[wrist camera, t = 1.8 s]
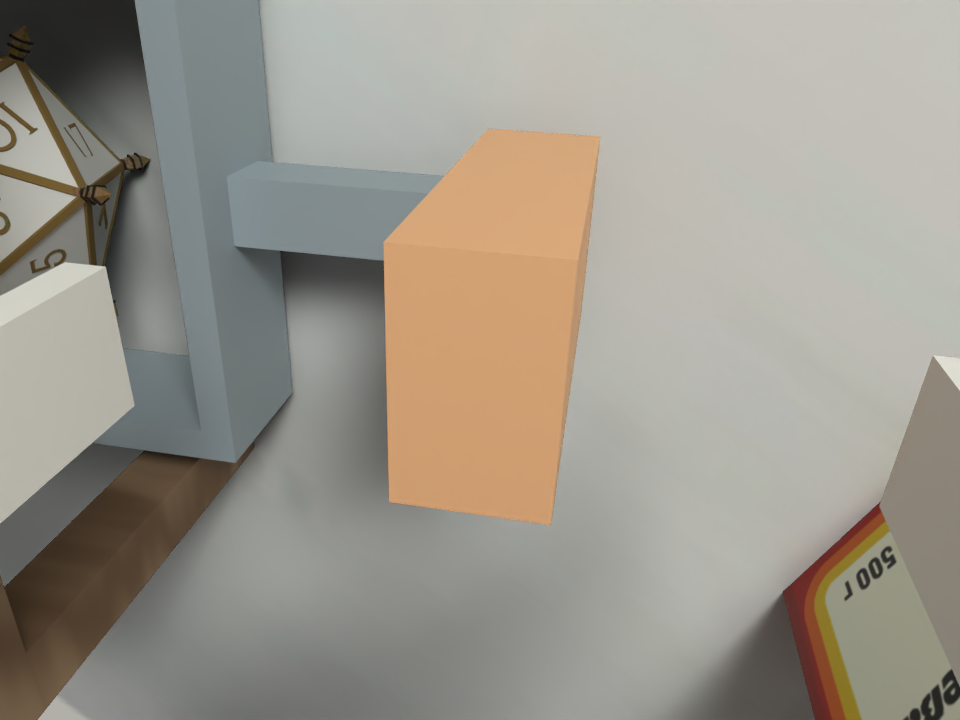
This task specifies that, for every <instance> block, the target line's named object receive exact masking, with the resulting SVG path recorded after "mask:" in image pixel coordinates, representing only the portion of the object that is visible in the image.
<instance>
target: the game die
mask: <svg viewBox="0 0 960 720" xmlns="http://www.w3.org/2000/svg"><path fill="white" fill-rule="evenodd" d="M9 36H10V37H11V40H10V43H8V44H7V45H8V46H9V47H10V54H9V55H8V56H0V296H1V295H3V294H5V293H7V292H9V291H11V290H13V289H15V288H16V287H18V286H20V285H22V284H24V283H26V282H28V281H30V280H32V279H34V278H36V277H38V276H40V275H41V274H43V273H45V272H47V271H49V270H51V269H53V268H55V267H57V266H59V265H61V264H63V263H64V262H67V263H76V264H85V265H94V266H104V265H105V260H106V256H107V251H108V246H109V241H110V237H111V232H112V227H113V223H114V218H115V213H116V208H117V204H118V199H119V194H120V189H121V185H122V180H123V175H124V171H125V170H131V171H132V172H133V171H135V170H137V169H138V170H139V171H140V170H142V169H143V166H144V165H145V164H146V163H147V162H149V161H150V160H151V159H148V158H145V157H143V156H140V155H138V154H137V153H134V155H131V156H130V155H127V157H126V158H124V159H119V158H118V157H117V156H116V155H115V154H114V153H113V152H112V151H111V150H110V149H109V148H108V147H107V146H106V145H105V144H104V143H103V142H102V141H101V140H100V139H99V138H98V137H97V136H96V135H95V134H94V132H93V131H92V130H91V129H90V128H89V127H88V126H87V125H86V124H85V123H84V122H83V121H82V120H81V119H80V118H79V117H78V116H77V115H76V114H75V113H74V112H73V111H72V110H71V109H70V108H69V107H68V106H67V105H66V104H65V103H64V102H63V101H62V100H61V99H60V98H59V97H58V96H57V95H56V94H55V93H54V92H53V91H52V90H51V89H50V87H49V86H48V85H47V84H46V83H45V82H44V81H43V80H42V79H41V78H40V77H39V76H38V75H37V74H36V73H35V72H34V71H33V70H32V69H31V68H30V67H29V66H28V65H27V64H26V63H25V62H24V57H25V56H26V55H27V53H30V52H31V51H29V48H30V46H31V45H33V43H32V42H31V40H30V37H29V34H28V31H27V28H26V26H25V25H24V26H23V27H21V28H20V29H19V30H17V31H16V32H15V33H13V34H9ZM115 302H116V301H115V300H114V301H113V304H114V309H115V314H116V315H117V316H119V315H118V312H117V309H116V305H115Z"/></svg>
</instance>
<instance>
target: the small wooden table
mask: <svg viewBox="0 0 960 720" xmlns="http://www.w3.org/2000/svg"><path fill="white" fill-rule="evenodd" d="M253 449H254V441H253V442H252V443H251V444H250V446H249V447H248V448H247V449H246V451H245V452H244V453H243V454H242V456H241V457H240V458H239V459H238V460H237V462H236V463H232V462H225V461H218V460H211V459H204V458H196V457H189V456H182V455H175V454H168V453H160V452H153V451H146V450H145V451H144V452H143V453H142V454H141V455H139V456H138V457H137V458H136V459H135V460H134V461H133V462H132V463H131V464H130V465H129V466H128V467H127V468H126V469H125V470H124V471H123V472H122V473H121V474H120V475H119V476H118V477H117V478H116V479H115V480H114V481H113V482H112V483H111V484H110V485H109V486H108V487H107V488H106V489H105V490H104V491H103V492H102V493H101V494H100V495H99V496H97V497H96V498H95V499H94V500H93V501H92V502H91V503H90V504H89V505H88V506H87V507H86V508H85V509H84V510H83V511H82V512H81V513H80V514H79V515H78V516H77V517H76V518H75V519H74V520H73V521H72V522H71V523H70V524H69V525H68V526H67V527H66V528H65V529H64V530H63V531H62V532H61V533H60V534H59V535H58V536H57V537H55V538H54V539H53V540H52V541H51V542H50V543H49V544H48V545H47V546H46V547H45V548H44V549H43V550H42V551H41V552H40V553H39V554H38V555H37V556H36V557H35V558H34V559H33V560H32V561H31V562H30V563H29V564H28V565H27V566H26V567H25V568H24V569H23V570H22V571H21V572H20V573H19V574H18V575H17V576H16V577H15V578H13V579H12V580H11V581H10V582H9V583H8V584H7V585H6V586H5V587H4V585H3V582H2V579H1V576H0V720H38V718H39V717H40V716H41V715H42V713H43V712H44V711H45V710H46V708H47V707H48V706H49V705H50V703H51V702H52V701H53V700H54V698H55V697H56V696H57V695H58V693H59V692H60V691H61V690H62V688H63V687H64V686H65V685H66V683H67V682H68V681H69V680H70V678H71V677H72V676H73V675H74V673H75V672H76V671H77V669H78V668H79V667H80V666H81V664H82V663H83V662H84V661H85V659H86V658H87V657H88V656H89V654H90V653H91V652H92V651H93V649H94V648H95V647H96V646H97V644H98V643H99V642H100V641H101V639H102V638H103V637H104V636H105V634H106V633H107V632H108V631H109V629H110V628H111V627H112V626H113V624H114V623H115V622H116V621H117V619H118V618H119V617H120V616H121V614H122V613H123V612H124V611H125V609H126V608H127V607H128V605H129V604H130V603H131V602H132V600H133V599H134V598H135V597H136V595H137V594H138V593H139V592H140V590H141V589H142V588H143V587H144V585H145V584H146V583H147V582H148V580H149V579H150V578H151V577H152V575H153V574H154V573H155V572H156V570H157V569H158V568H159V567H160V565H161V564H162V563H163V562H164V560H165V559H166V558H167V557H168V555H169V554H170V553H171V552H172V550H173V549H174V548H175V547H176V545H177V544H178V543H179V542H180V540H181V539H182V538H183V536H184V535H185V534H186V533H187V531H188V530H189V529H190V528H191V526H192V525H193V524H194V523H195V521H196V520H197V519H198V518H199V516H200V515H201V514H202V513H203V511H204V510H205V509H206V508H207V506H208V505H209V504H210V503H211V501H212V500H213V499H214V498H215V496H216V495H217V494H218V493H219V491H220V490H221V489H222V488H223V486H224V485H225V484H226V483H227V481H228V480H229V479H230V478H231V476H232V475H233V474H234V472H235V471H236V470H237V469H238V467H239V466H240V465H241V464H242V462H243V461H244V460H245V459H246V457H247V456H248V455H249V454H250V452H251V451H252V450H253Z"/></svg>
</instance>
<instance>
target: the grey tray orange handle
mask: <svg viewBox="0 0 960 720" xmlns="http://www.w3.org/2000/svg"><path fill="white" fill-rule="evenodd" d="M135 6H136V13H137V19H138V26H139V32H140V39H141V45H142V52H143V58H144V65H145V71H146V78H147V84H148V91H149V97H150V104H151V110H152V117H153V123H154V130H155V136H156V143H157V149H158V156H159V162H160V169H161V175H162V181H163V188H164V194H165V201H166V207H167V214H168V220H169V227H170V233H171V240H172V246H173V253H174V259H175V266H176V272H177V279H178V285H179V292H180V298H181V305H182V311H183V318H184V324H185V331H186V337H187V344H188V350H189V356H184V355H175V354H167V353H159V352H150V351H142V350H133V349H125V348H123V352H124V357H125V362H126V366H127V371H128V376H129V381H130V386H131V390H132V395H133V400H134V405H135V406H134V407H133V408H131V409H130V410H129V411H128V412H127V413H126V414H125V415H123V416H122V417H121V418H120V419H119V420H118V421H117V422H115V423H114V424H113V425H112V426H111V427H110V428H109V429H108V430H106V431H105V432H104V433H103V434H102V435H101V436H100V437H98V438H97V439H96V440H95V441H94V442H93V443H96V444H103V445H110V446H117V447H124V448H132V449H139V450H146V451H153V452H160V453H168V454H175V455H182V456H189V457H196V458H204V459H211V460H218V461H225V462H232V463H236V462H237V460H238V459H239V458H240V457H241V456H242V454H243V453H244V452H245V451H246V449H247V448H248V447H249V446H250V444H251V443H252V442H253V441H254V440H255V438H256V437H257V436H258V435H259V433H260V432H261V431H262V430H263V428H264V427H265V426H266V425H267V423H268V422H269V421H270V420H271V419H272V417H273V416H274V415H275V414H276V412H277V411H278V410H279V409H280V407H281V406H282V405H283V404H284V403H285V401H286V400H287V399H288V398H289V396H290V395H291V394H292V382H291V370H290V359H289V347H288V336H287V324H286V313H285V301H284V290H283V278H282V267H281V255H280V251H289V252H299V253H310V254H320V255H330V256H340V257H351V258H361V259H371V260H382V261H384V290H385V337H386V384H387V431H388V477H389V502H392V503H399V504H406V505H413V506H420V507H428V508H435V509H442V510H449V511H456V512H463V513H470V514H477V515H484V516H491V517H498V518H505V519H512V520H519V521H526V522H533V523H540V524H547V525H551V521H552V514H553V507H554V500H555V493H556V486H557V479H558V472H559V465H560V458H561V451H562V444H563V437H564V430H565V423H566V416H567V409H568V402H569V395H570V388H571V381H572V374H573V366H574V359H575V352H576V345H577V338H578V331H579V324H580V317H581V310H582V301H583V292H584V282H585V273H586V264H587V254H588V245H589V236H590V226H591V217H592V208H593V199H594V189H595V180H596V171H597V161H598V152H599V143H600V137H598V136H584V135H570V134H556V133H542V132H527V131H513V130H499V129H488V130H487V131H486V132H485V133H484V134H483V135H482V136H481V138H480V139H479V140H478V141H477V142H476V143H475V144H474V145H473V146H472V147H471V148H470V149H469V150H468V152H467V153H466V154H465V155H464V156H463V157H462V158H461V159H460V160H459V161H458V162H457V163H456V164H455V166H454V167H453V168H452V169H451V170H450V171H449V172H448V173H447V174H446V175H445V176H437V175H425V174H412V173H400V172H387V171H375V170H363V169H350V168H338V167H325V166H313V165H300V164H288V163H275V162H272V151H271V140H270V128H269V117H268V105H267V94H266V82H265V71H264V59H263V47H262V36H261V24H260V13H259V1H258V0H135Z"/></svg>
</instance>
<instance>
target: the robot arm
mask: <svg viewBox="0 0 960 720" xmlns="http://www.w3.org/2000/svg"><path fill="white" fill-rule="evenodd" d="M134 406H135V405H134V400H133V395H132V390H131V386H130V381H129V376H128V371H127V366H126V362H125V357H124V352H123V347H122V342H121V338H120V333H119V328H118V323H117V319H116V314H115V309H114V304H113V299H112V295H111V290H110V285H109V280H108V275H107V271H106V267H104V266H94V265H85V264H76V263H67V262H64V263H63V264H61V265H59V266H57V267H55V268H53V269H51V270H49V271H47V272H45V273H43V274H41V275H40V276H38V277H36V278H34V279H32V280H30V281H28V282H26V283H24V284H22V285H20V286H18V287H16V288H15V289H13V290H11V291H9V292H7V293H5V294H3V295H1V296H0V523H2V522H3V521H4V520H5V519H6V518H7V517H8V516H10V515H11V514H12V513H13V512H14V511H15V510H16V509H18V508H19V507H20V506H21V505H22V504H23V503H24V502H25V501H27V500H28V499H29V498H30V497H31V496H32V495H33V494H35V493H36V492H37V491H38V490H39V489H40V488H41V487H43V486H44V485H45V484H46V483H47V482H48V481H49V480H51V479H52V478H53V477H54V476H55V475H56V474H57V473H59V472H60V471H61V470H62V469H63V468H64V467H65V466H67V465H68V464H69V463H70V462H71V461H72V460H73V459H74V458H76V457H77V456H78V455H79V454H80V453H81V452H82V451H84V450H85V449H86V448H87V447H88V446H89V445H90V444H92V443H93V442H94V441H95V440H96V439H97V438H98V437H100V436H101V435H102V434H103V433H104V432H105V431H106V430H108V429H109V428H110V427H111V426H112V425H113V424H114V423H115V422H117V421H118V420H119V419H120V418H121V417H122V416H123V415H125V414H126V413H127V412H128V411H129V410H130V409H131V408H133V407H134ZM879 507H880V509H881V511H882V514H883V516H884V518H885V520H886V523H887V525H888V527H889V529H890V532H891V534H892V536H893V538H894V541H895V543H896V545H897V547H898V550H899V552H900V554H901V556H902V558H903V561H904V563H905V565H906V567H907V570H908V572H909V574H910V576H911V579H912V581H913V583H914V585H915V588H916V590H917V592H918V594H919V597H920V599H921V601H922V603H923V606H924V608H925V610H926V612H927V614H928V617H929V619H930V621H931V623H932V626H933V628H934V630H935V632H936V635H937V637H938V639H939V641H940V644H941V646H942V648H943V650H944V653H945V655H946V657H947V659H948V662H949V664H950V666H951V668H952V670H953V673H954V675H955V677H956V679H957V682H958V684H959V686H960V358H952V357H943V356H934V355H933V357H932V360H931V363H930V365H929V368H928V371H927V374H926V377H925V379H924V382H923V385H922V388H921V391H920V393H919V396H918V399H917V402H916V405H915V407H914V410H913V413H912V416H911V419H910V422H909V424H908V427H907V430H906V433H905V436H904V438H903V441H902V444H901V447H900V450H899V452H898V455H897V458H896V461H895V464H894V466H893V469H892V472H891V475H890V478H889V480H888V483H887V486H886V489H885V492H884V494H883V497H882V500H881V503H880V506H879Z"/></svg>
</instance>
